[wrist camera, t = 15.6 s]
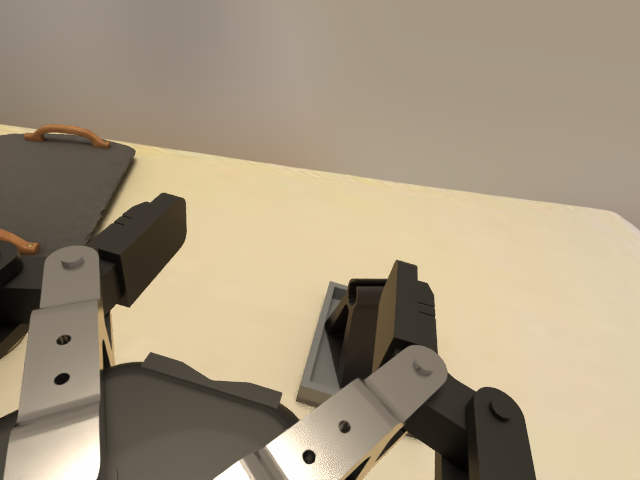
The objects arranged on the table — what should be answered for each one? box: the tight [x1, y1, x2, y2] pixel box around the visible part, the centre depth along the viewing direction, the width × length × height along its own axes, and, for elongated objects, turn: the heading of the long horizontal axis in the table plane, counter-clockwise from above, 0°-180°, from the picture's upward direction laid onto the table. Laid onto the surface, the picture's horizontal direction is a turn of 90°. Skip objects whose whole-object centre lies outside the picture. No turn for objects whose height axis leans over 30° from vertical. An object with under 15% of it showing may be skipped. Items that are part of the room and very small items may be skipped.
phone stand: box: [324, 279, 387, 388], centre depth 42 cm, size 9×6×12 cm, turn 11°
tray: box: [296, 281, 416, 438], centre depth 45 cm, size 14×17×3 cm
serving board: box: [0, 124, 136, 257], centre depth 57 cm, size 39×23×6 cm, turn 9°
